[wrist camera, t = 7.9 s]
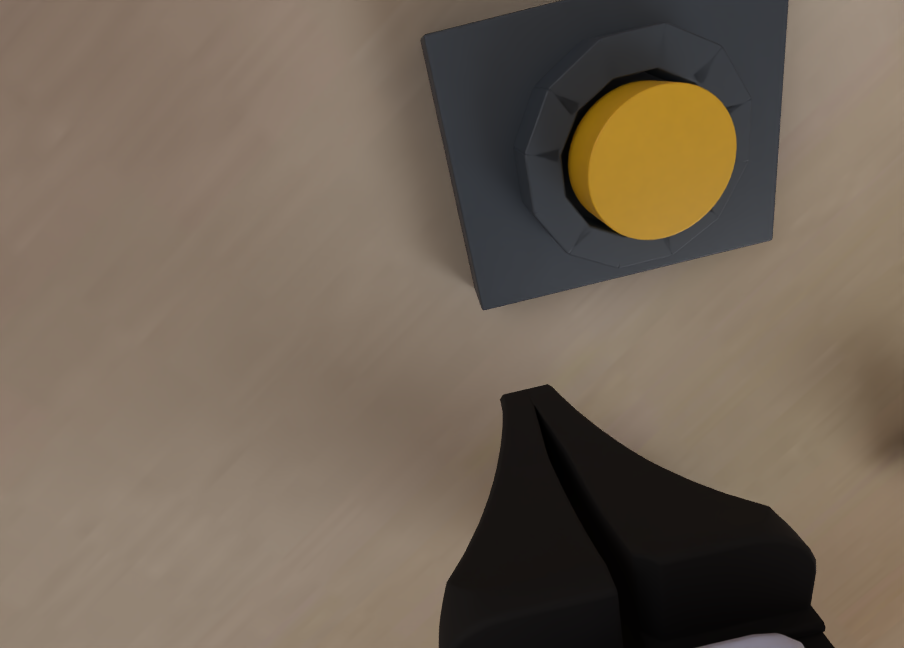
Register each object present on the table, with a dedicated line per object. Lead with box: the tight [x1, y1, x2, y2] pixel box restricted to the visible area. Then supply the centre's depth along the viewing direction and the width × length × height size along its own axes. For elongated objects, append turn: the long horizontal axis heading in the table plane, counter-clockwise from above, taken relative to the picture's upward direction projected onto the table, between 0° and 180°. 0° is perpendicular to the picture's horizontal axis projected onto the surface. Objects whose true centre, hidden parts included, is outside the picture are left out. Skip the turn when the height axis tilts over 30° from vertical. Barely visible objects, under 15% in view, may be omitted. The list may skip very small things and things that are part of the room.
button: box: [568, 80, 737, 240], centre depth 17 cm, size 5×5×2 cm
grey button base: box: [421, 0, 788, 310], centre depth 19 cm, size 12×10×4 cm
